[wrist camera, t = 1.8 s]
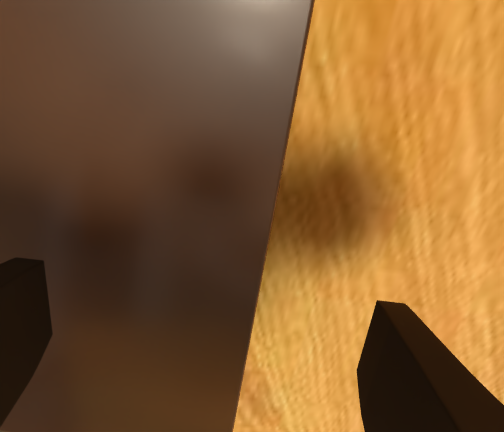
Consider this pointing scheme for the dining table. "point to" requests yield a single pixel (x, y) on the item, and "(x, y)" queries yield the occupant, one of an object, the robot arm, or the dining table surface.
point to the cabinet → (144, 198)
